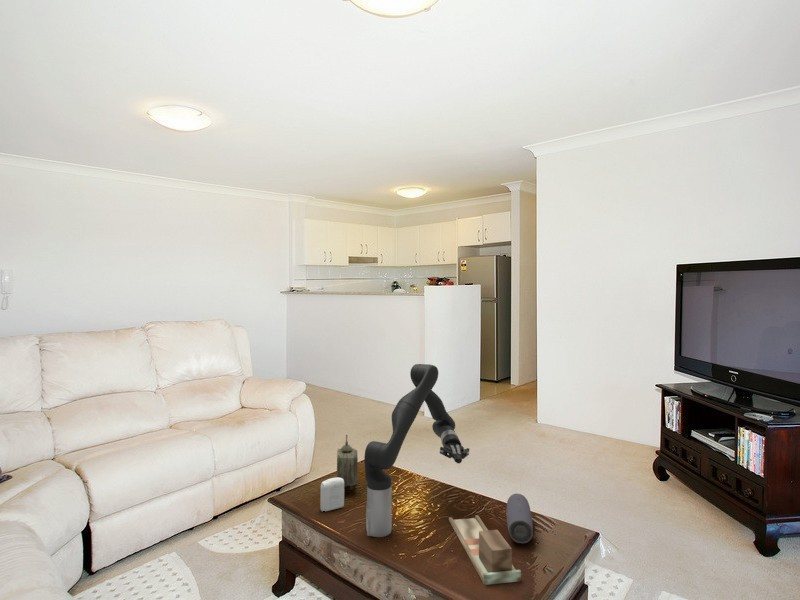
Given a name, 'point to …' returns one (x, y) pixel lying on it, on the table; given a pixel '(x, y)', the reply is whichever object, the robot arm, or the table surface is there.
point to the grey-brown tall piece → (347, 465)
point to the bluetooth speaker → (519, 519)
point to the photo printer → (332, 494)
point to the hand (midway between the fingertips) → (459, 461)
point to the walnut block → (494, 551)
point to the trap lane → (470, 541)
